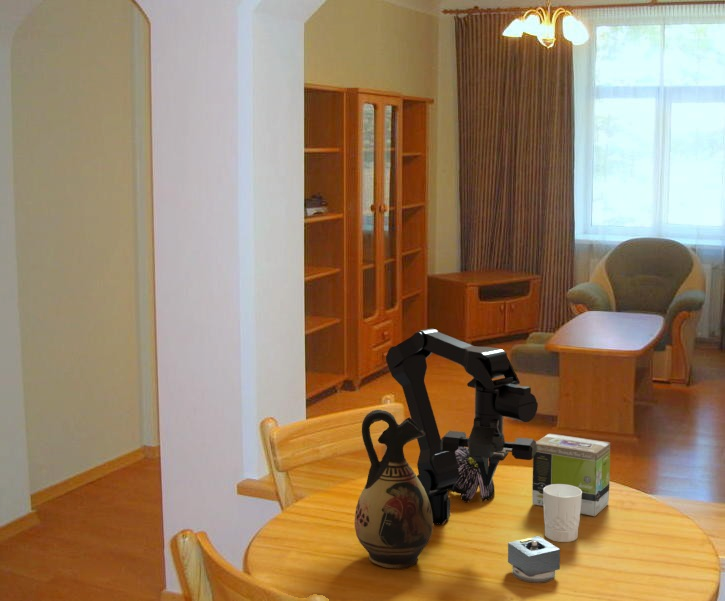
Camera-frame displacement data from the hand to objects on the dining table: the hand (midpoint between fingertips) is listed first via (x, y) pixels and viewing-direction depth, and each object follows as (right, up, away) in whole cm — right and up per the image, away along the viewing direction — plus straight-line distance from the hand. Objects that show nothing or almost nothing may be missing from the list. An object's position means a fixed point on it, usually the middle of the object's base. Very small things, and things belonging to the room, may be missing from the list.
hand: (487, 485), depth 200 cm
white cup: (+16, -12, +5) cm, 20 cm away
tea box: (+22, -9, +22) cm, 32 cm away
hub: (+7, -14, -13) cm, 21 cm away
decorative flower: (-2, -8, +29) cm, 30 cm away
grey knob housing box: (+7, -13, -14) cm, 20 cm away
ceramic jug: (-20, -13, -6) cm, 25 cm away
